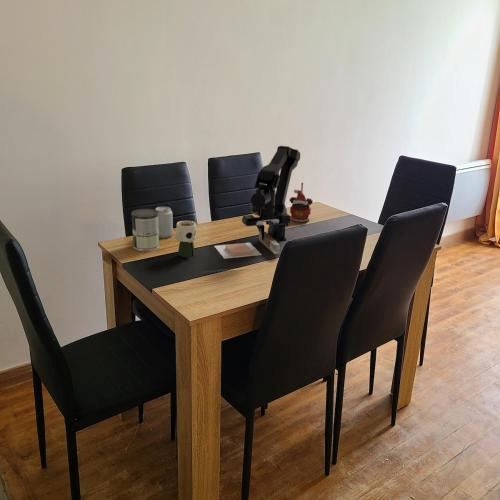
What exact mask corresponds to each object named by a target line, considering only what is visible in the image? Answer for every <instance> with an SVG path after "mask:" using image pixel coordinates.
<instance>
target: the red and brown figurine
mask: <svg viewBox="0 0 500 500" xmlns="http://www.w3.org/2000/svg"><path fill="white" fill-rule="evenodd" d="M300 185H301V187H300V189H298V188H295V189H293V193H294V194H297V196H291V197H290V198H289V202H290V204H292V205H291V206H290V209H289V213H290V216H291V221H295V222H298V221H299V223H303V222H304V223H305V222H308V221H310V219H311V217H310V215H311V210H312V209H311V207H310V205H312V204H313V200H312V198H309V197H307V198H306V196H305V194H304V193H303V191H304V182H301V184H300Z"/></svg>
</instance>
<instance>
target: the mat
mask: <svg viewBox="0 0 500 500" xmlns="http://www.w3.org/2000/svg"><path fill="white" fill-rule="evenodd" d="M241 243H242V242H241ZM241 243H239V244H241ZM244 243H245V244H246V245H247V246H248V247H249V248H250V249H251V250H252V255H244V256H233V257H232V256H231V254H230V253H229V252H228V251H227V250H226V249H225V245H226V244H221V245H220V244H219V245H218V244H217V245H214V248H215V249H216V250H217V251H218V253H219V254H220V255H221V256H222V258H223V259H225V260H226V259H233V258H244V257H252V256H256V257H257V256H262V255H263V254H262V253H261V252H260V251H259V250H258V249H257V248H256V247H255V246H254V245H253V244H252V243H251V242H244ZM228 245H230V244H228Z"/></svg>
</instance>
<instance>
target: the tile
mask: <svg viewBox="0 0 500 500" xmlns="http://www.w3.org/2000/svg"><path fill="white" fill-rule="evenodd" d="M245 243H246V242H243V243H242V242H241V244H240V243H232V244H230V245H229V244H224V245H225V249H226V250H227V251H228V252H229V253H230V254H231V256H232V257H233V256H244V255H252V250H251V249H250V248H249V247H248V246H247V245H246V244H245Z"/></svg>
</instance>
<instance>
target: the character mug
mask: <svg viewBox="0 0 500 500" xmlns="http://www.w3.org/2000/svg"><path fill="white" fill-rule="evenodd" d="M196 238H197V225H196V222H195V221H193V220H192V221H191V220H181V221H177V223H176V231H175V239H176V240H177V241H179V243H178V244H179V245H178V252H177V254H178V256H179V257H181V258H191V257H193V256H195V255H196V254H195V253H196V251H195V245H194V241H196Z"/></svg>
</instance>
